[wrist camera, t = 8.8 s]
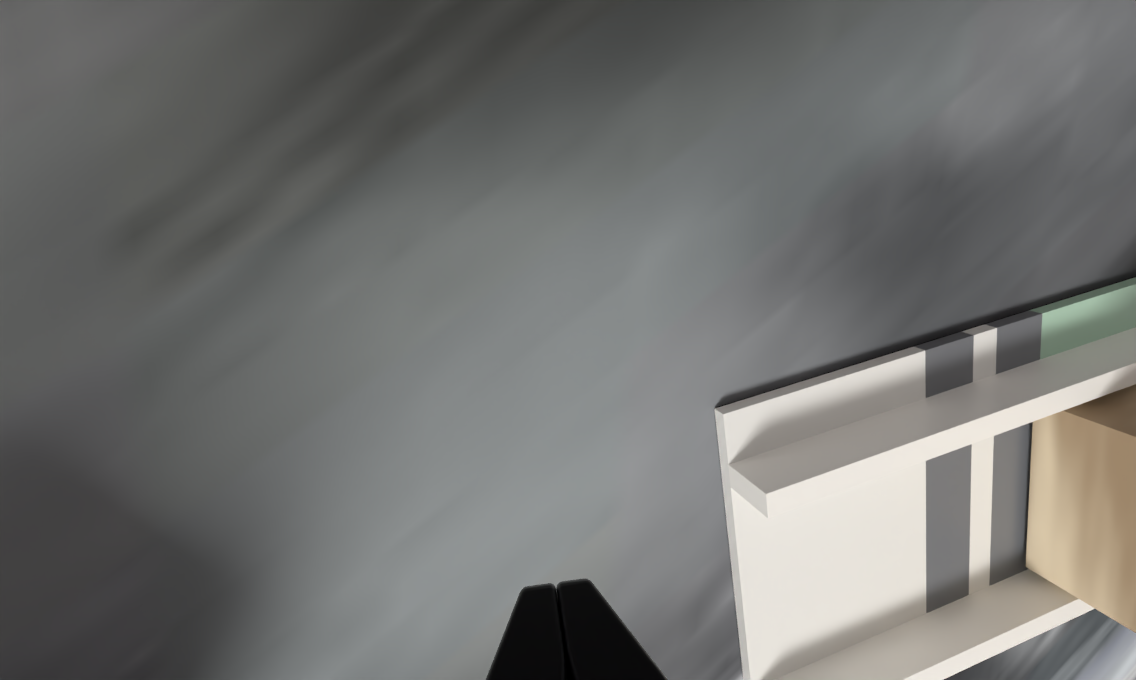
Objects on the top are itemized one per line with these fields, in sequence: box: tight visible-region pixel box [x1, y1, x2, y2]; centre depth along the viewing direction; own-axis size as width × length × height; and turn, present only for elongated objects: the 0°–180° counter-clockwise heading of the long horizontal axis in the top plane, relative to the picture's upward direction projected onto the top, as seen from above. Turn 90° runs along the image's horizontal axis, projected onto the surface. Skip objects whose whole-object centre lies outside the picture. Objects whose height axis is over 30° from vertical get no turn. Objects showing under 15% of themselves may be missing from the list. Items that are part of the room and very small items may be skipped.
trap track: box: [715, 277, 1136, 680], centre depth 25 cm, size 18×13×2 cm
